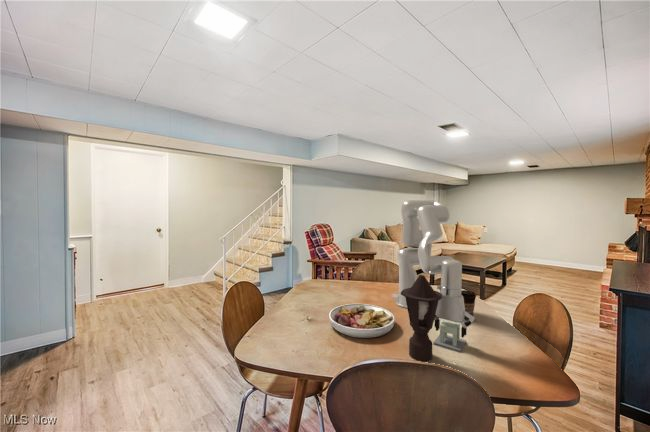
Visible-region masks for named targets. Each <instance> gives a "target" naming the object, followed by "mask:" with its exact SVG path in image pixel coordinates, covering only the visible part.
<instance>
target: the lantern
mask: <svg viewBox="0 0 650 432" xmlns="http://www.w3.org/2000/svg"><path fill="white" fill-rule="evenodd" d="M439 292H440V291H437V290H434V288H433V287H432V286H431V284H430V282H429V281H428V279H427V277H426V276H425V275H422V274H420V275H418V276H417V279H416V281H415V282H414V284H413V285H412V287H411V288H407V289H404V290H402V292H401V295H403V296H404V297H406V303H407V308H406V309H407V313H408V319H409V326H410V327H411V328H412V331H413V334H412V335H411V336H410V338H409V339H408V341H409V342H408V343H409V344H408V355H409V357H410V358H411V359H413V360H414V361H418V362H421V361H423V362H424V363H425V362H430V361H432V359H433V341H432V340H431V338H430V337H429V332H430V330H432V329H433V325H434V323H435V320H434V318H435V314H436V310H437V306H438V301H439V300H440V299H442V293H439Z"/></svg>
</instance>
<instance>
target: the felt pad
mask: <svg viewBox="0 0 650 432" xmlns="http://www.w3.org/2000/svg"><path fill="white" fill-rule="evenodd" d="M466 343H467V340H466V339H462V338H460V341H459V342H458V341H457V346H453V335H448V334H447V338H444V342H443V343H442V342H440V334H438V336H437V338H435V339H434V341H432V345H434V346H438V347H440V348H445V349H448V350H451V351H454V352H458V353H462V351H463V348H464V347H465V345H466Z"/></svg>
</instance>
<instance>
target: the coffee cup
mask: <svg viewBox="0 0 650 432" xmlns="http://www.w3.org/2000/svg"><path fill="white" fill-rule="evenodd" d="M461 295H463V299H464V306H465V311H466V312H468V313H469V314H470V315H472V316H473V317H474V311H475V305H476V304H475V303H476V298H477V295H476V292H475V291H473V290H467V289H464V290H463V289H461ZM464 320H465V321H466V320H467V321H469V318H468V317H466V316H465V318H464Z"/></svg>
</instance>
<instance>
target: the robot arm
mask: <svg viewBox="0 0 650 432" xmlns="http://www.w3.org/2000/svg"><path fill="white" fill-rule="evenodd" d="M400 209H401V210H400V211H401V216H402V233H401V243H402V245H403V246H404V247H406V248H401V249H399V250H398V252H397V262H398V272H399V273H398V293H397V294H396V293H392V296H391V297H392V299H395V304H396V305H397V306H398V307H401V308H405V309H408V308H407V303H406V297H404V296H403V295H401V292H402V290H404V289H407V288H411V287H412V285H413V284H414V282H415V281H416V279H417V278H418V274H417V271H416V270H415V268H414V267H413V266H420V268H421V271H423V273H425V274H427V275H440V285H437V286H436V289H437V290H439V291H438V292H439V293H442V299H440V300H439V301H438V306H437V310H436V314H435V318H434V328H435V331H436V332H437V331H440V324H441V320H447V321H451V322H455V323H459V324H460V326H461V327H460V329H461V330H460V334H461V335H460V337H461V339H462V338H464V337H465V336H467V328H468V327H469V326H470V325H472V323H473V322H474V320H475V319H476V318H475V316H474V315H473V316H472V315H470V314H469V313H468V312H466V311H465V306H464V299H463V295H461V291H462V285H463V283H462V279H463V276H462V275H463V274H462V273H463V268H462V267H463V265H462V262H461V261H460V260H457V259H454V258H453V257H452V256H449V255H446V256H445V255H444V256H443V255H442V256H441V255H434V256H433V255H432V247H433V245H432V244H433V242H435V241H438V240H440V239H441V237H442V236H443V234H444V233H443V229H442V227H441V224H443V223H444V224H445V223H446V222H448V221H449V219H450V212H449V208H447V206H446V205H444V204H443V203H441V202H439V201H436V200H427V199H424V200H423V199H416V200H415V199H414V200H405V201H404V202H403V203H402V204H401V208H400ZM465 316H466V317H468V318H469V320H467V321H466V319H464V318H465Z"/></svg>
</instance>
